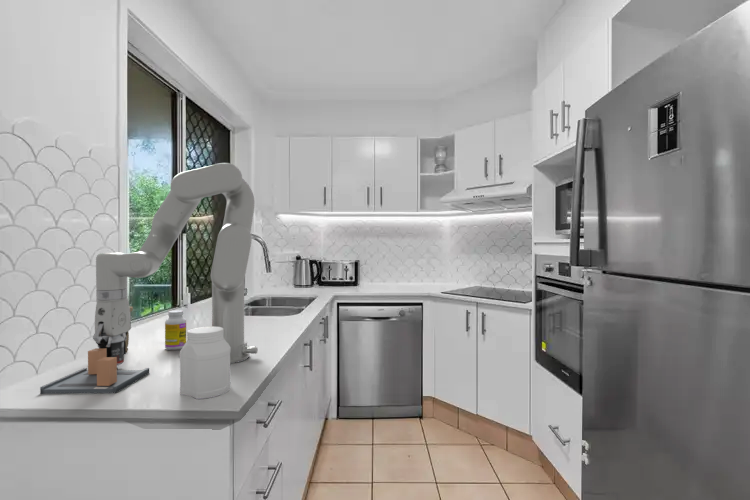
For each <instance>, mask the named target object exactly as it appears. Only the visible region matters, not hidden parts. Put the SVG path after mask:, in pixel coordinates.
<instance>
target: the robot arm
mask: <svg viewBox="0 0 750 500" xmlns="http://www.w3.org/2000/svg"><path fill="white" fill-rule="evenodd" d="M219 194H222V195H223V196H224V198H225V200H226V205H225V211H224V218H223V222H222V227H221V229H220V231H219V233H218V234H217V238H216V243H215V245H216V246H215V249H214V256H213V260H212V265H211V270H210V281H211V327H222V328H223V331H224V332H223V337H224V339H225V340H226V342H227V343H228V344H229V346H230V348H231V352H230V364H235V362H236V363H239V362H238V361H240V362H243V361H242V360H244V361H246V360H247V358H248V357H249V358H250V354H253V355H254V354H255V355H256V354H258V347H257V346H255V345H253V346H249V345H248V342H247V341H245V278H246V273H247V267H248V262H249V258H250V253H251V246H252V233H251V231H252V226H253V219H254V211H255V196H254V195H255V194H254V192H253V190H252V188H251V186H250V185H249V184H248V183H247V181H246V180H245V179H244V178H243V174H242V172H241V170H240V169H239V168H238V166H236V165H235V164H233V163H230V162H219V163H215V164H212V165H208V166H203V167H199V168H195V169H191V170H190V169H189V170H186V171H181V172H179V173H178V174H176V175H175V176H174V177H173V178H172V180H171V182H170V191H169V192H168V194H167V196H166V197H165V198H164V200H163V201H162V203H161V205H160V206H159V208H158V209H157V211H156V212H155V214H154V215H153V218H152V222H151V229H150V231H149V233H148V236H147V238H146V239H145V240H144V243H143V244H142V245H141V247H140V249H139V250H138V251H136V252H135V251H133V252H129V253H124V252H101V253H99V254H97V255H96V257H95V280H96V281H95V283H96V284H95V286H96V288H95V289H96V291H95V294H96V296H95V298H96V305H95V312H94V333H93V336H92V340H93V341H94V342H95V344H97V348H107V357H112V347H110V344H111V339H112V337H114V336H117V335H120V334H121V336H122V337H123V338H124V356H125V355H126V353H127V352H126V340H127V337H126V336H127V334H128V331H129V332H130V330H131V329H132V318H131V312H130V307H129V306H130V303H129V299H128V278H135V279H136V278H137V279H139V278H140V279H141V278H142V279H143V278H146V277H148V276H151V275H153V274H154V273H156V272H157V271H158V270H159V268H160V267H161V266H162V263H163V262H164V261H165V259H166V257H168V255H169V254H170V251H171V249H172V248H173V246H174V244H175V242H176V241H177V239H178V238H179V237H180V235H181V233H182V231H183V230H184V228H185V226H186V224H187V222H188V221H189V220H190V218H191V217H192V215H193V214H194V211H196V208H197V207H198V205H199V204H200V203H201V201H202V200H203V199H204V198H207V197H212V196H215V195H219ZM104 334H107V335H108V336H104ZM104 338H107V341H105V340H104ZM249 358H248V359H249ZM245 359H246V360H245Z"/></svg>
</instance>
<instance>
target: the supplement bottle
mask: <svg viewBox="0 0 750 500" xmlns="http://www.w3.org/2000/svg"><path fill="white" fill-rule="evenodd" d="M167 315H168V318H167V319H166V320H165V322H164V348H165V350H168V351H169V350H170V351H175V350H176V351H177V350H181V349H182V348H183V346H184V345H185V343H186V342H187V319H186V318H185V317H183V315H184V310H181V309H179V310H176V309H175V310H170V311H168V314H167Z"/></svg>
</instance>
